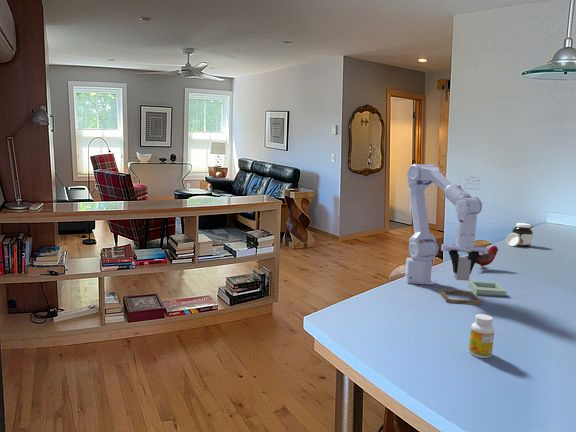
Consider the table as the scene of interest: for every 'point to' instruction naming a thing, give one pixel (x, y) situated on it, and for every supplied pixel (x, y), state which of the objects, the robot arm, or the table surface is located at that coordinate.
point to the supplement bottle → (482, 336)
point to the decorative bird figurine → (487, 257)
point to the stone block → (463, 269)
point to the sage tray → (487, 288)
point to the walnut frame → (474, 301)
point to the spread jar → (520, 235)
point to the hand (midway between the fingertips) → (461, 272)
